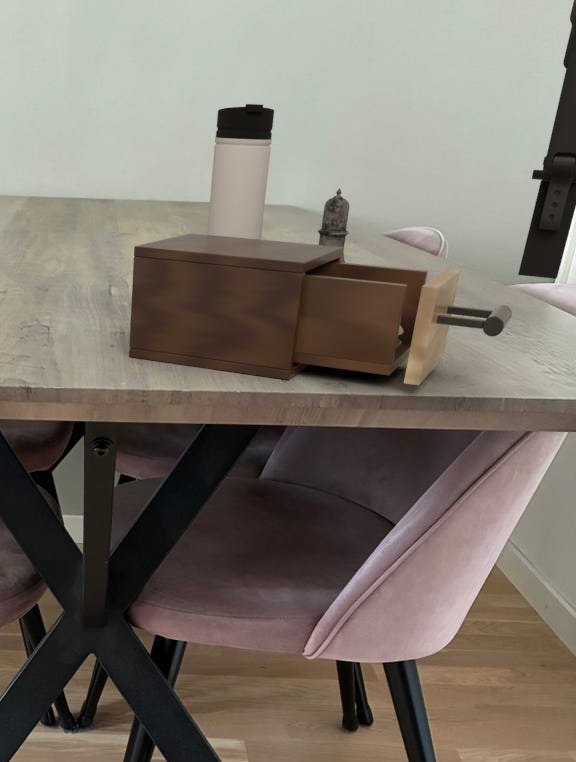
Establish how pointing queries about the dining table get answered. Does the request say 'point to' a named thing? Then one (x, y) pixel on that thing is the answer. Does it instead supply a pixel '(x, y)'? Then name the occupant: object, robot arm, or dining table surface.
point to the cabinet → (222, 302)
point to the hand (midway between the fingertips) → (537, 275)
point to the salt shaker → (334, 222)
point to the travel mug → (240, 171)
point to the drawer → (383, 318)
